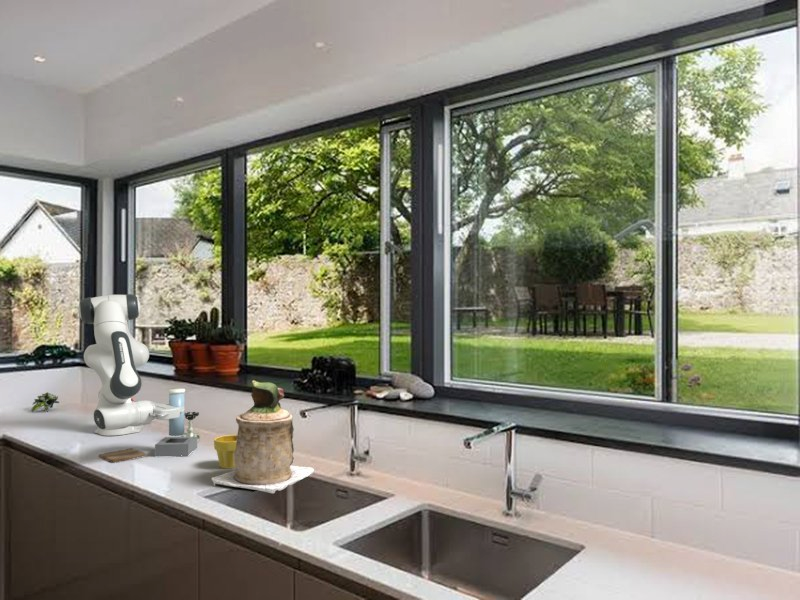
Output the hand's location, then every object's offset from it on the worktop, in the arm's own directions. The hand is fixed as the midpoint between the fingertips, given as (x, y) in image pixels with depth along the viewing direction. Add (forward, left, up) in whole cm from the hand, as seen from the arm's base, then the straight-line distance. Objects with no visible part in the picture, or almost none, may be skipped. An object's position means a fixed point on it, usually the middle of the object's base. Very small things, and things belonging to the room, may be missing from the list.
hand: (178, 407), depth 228 cm
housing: (+1, -1, -17) cm, 17 cm away
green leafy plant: (-89, -94, -17) cm, 130 cm away
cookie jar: (+37, +38, -17) cm, 55 cm away
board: (+6, -19, -17) cm, 26 cm away
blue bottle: (+1, -1, -10) cm, 10 cm away
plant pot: (+21, +23, -17) cm, 36 cm away
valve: (-14, 0, -17) cm, 22 cm away
